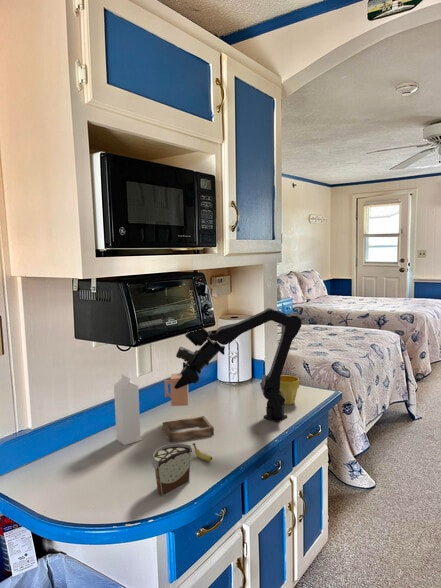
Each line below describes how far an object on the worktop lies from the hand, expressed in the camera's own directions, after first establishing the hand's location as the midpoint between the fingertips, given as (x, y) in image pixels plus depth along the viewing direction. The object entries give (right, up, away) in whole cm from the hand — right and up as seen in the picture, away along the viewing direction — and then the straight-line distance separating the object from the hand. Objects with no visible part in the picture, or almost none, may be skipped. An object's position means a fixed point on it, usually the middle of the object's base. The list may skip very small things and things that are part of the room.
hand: (175, 385), depth 159 cm
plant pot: (+43, -11, +19) cm, 48 cm away
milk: (-14, -16, -13) cm, 25 cm away
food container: (+2, -18, -42) cm, 46 cm away
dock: (+5, -14, -8) cm, 17 cm away
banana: (+11, -17, -28) cm, 34 cm away
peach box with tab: (0, -7, +1) cm, 7 cm away
